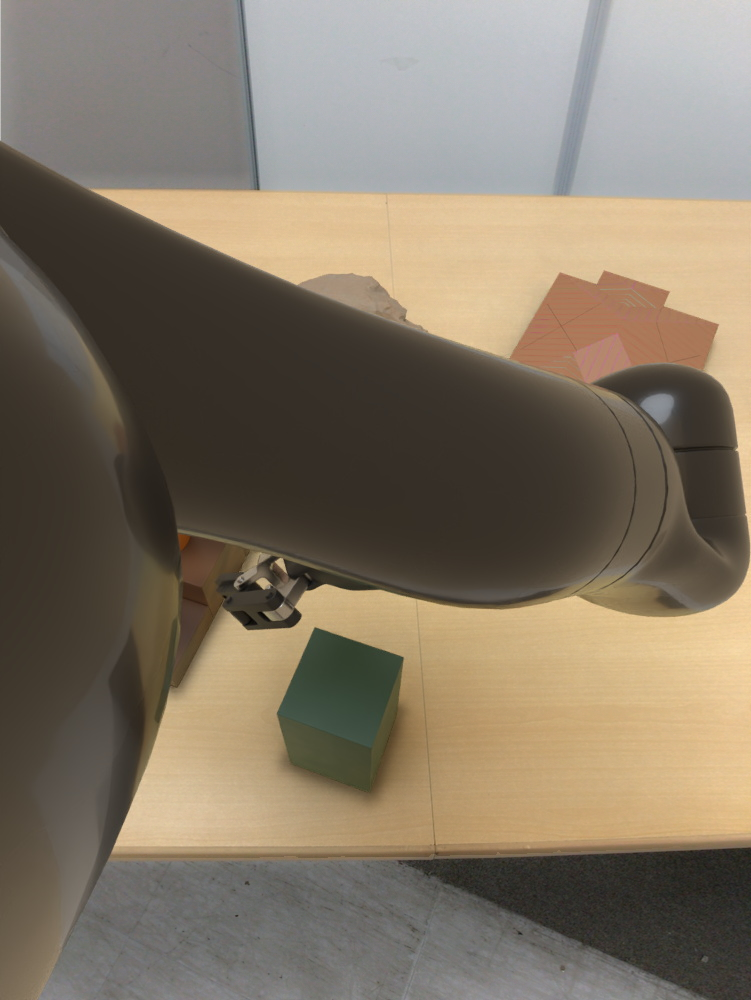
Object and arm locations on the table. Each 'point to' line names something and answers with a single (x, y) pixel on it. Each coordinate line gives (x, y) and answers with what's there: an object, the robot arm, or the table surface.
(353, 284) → the decorative stone
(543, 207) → the table surface
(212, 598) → the riser
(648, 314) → the house
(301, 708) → the stand
